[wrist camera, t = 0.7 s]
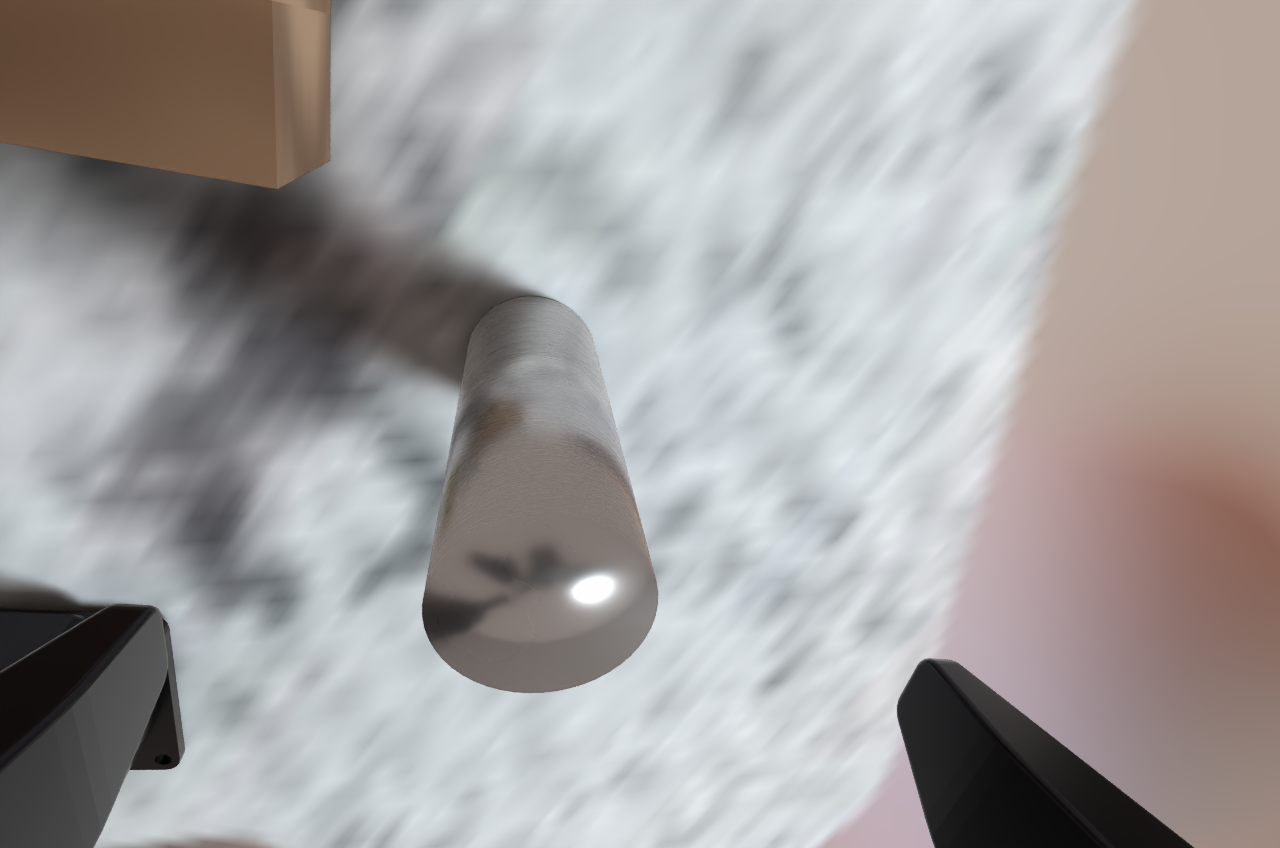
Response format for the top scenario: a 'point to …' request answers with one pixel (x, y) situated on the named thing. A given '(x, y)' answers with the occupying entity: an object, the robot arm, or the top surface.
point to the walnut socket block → (171, 84)
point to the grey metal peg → (536, 513)
